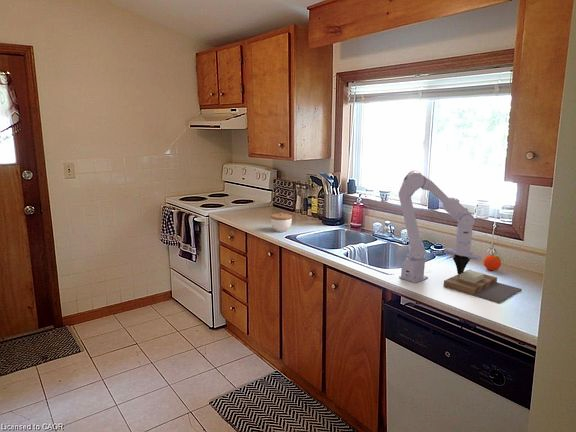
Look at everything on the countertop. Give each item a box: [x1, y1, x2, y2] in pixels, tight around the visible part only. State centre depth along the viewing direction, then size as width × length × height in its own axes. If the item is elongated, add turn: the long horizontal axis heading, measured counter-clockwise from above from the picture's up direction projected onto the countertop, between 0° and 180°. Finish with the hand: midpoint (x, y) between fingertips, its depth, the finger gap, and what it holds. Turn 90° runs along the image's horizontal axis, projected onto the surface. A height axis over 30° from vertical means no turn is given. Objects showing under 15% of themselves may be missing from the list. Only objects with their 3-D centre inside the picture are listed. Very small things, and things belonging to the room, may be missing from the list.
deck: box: [443, 269, 498, 296], centre depth 169 cm, size 20×12×2 cm, turn 131°
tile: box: [460, 269, 485, 283], centre depth 169 cm, size 8×6×2 cm
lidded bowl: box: [270, 211, 293, 233], centre depth 254 cm, size 13×13×11 cm
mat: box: [472, 281, 523, 304], centre depth 162 cm, size 20×10×1 cm, turn 131°
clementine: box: [483, 254, 504, 272], centre depth 187 cm, size 8×7×7 cm
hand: (460, 273), depth 173 cm, fingers closed
